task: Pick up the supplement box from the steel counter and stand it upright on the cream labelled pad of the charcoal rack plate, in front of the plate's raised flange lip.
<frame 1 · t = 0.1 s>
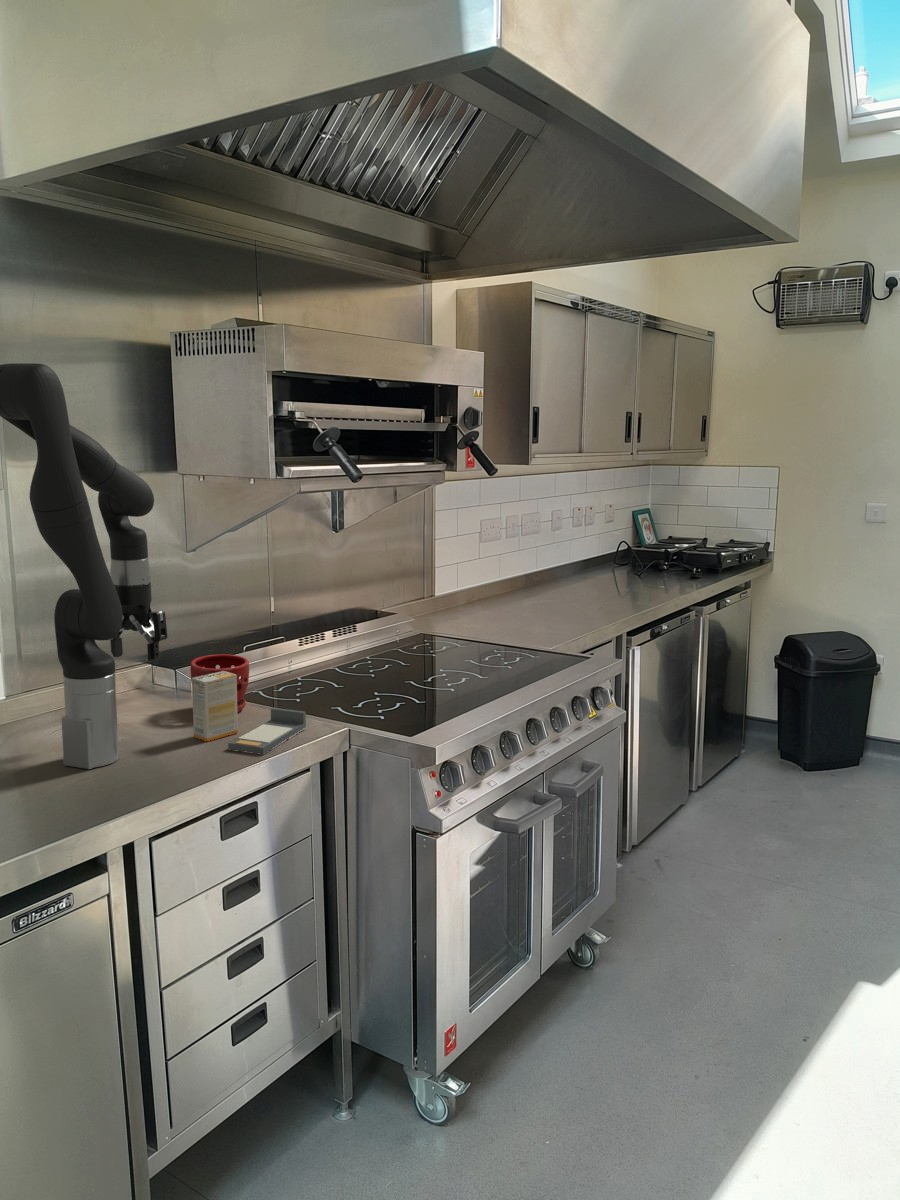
hand: (135, 658, 183), 17 cm above the worktop, tool pointing down, fingers open, 8 cm apart
supplement box: (215, 736, 190), on the worktop
plant pot: (220, 711, 208), on the worktop
rack plate: (268, 739, 188), on the worktop
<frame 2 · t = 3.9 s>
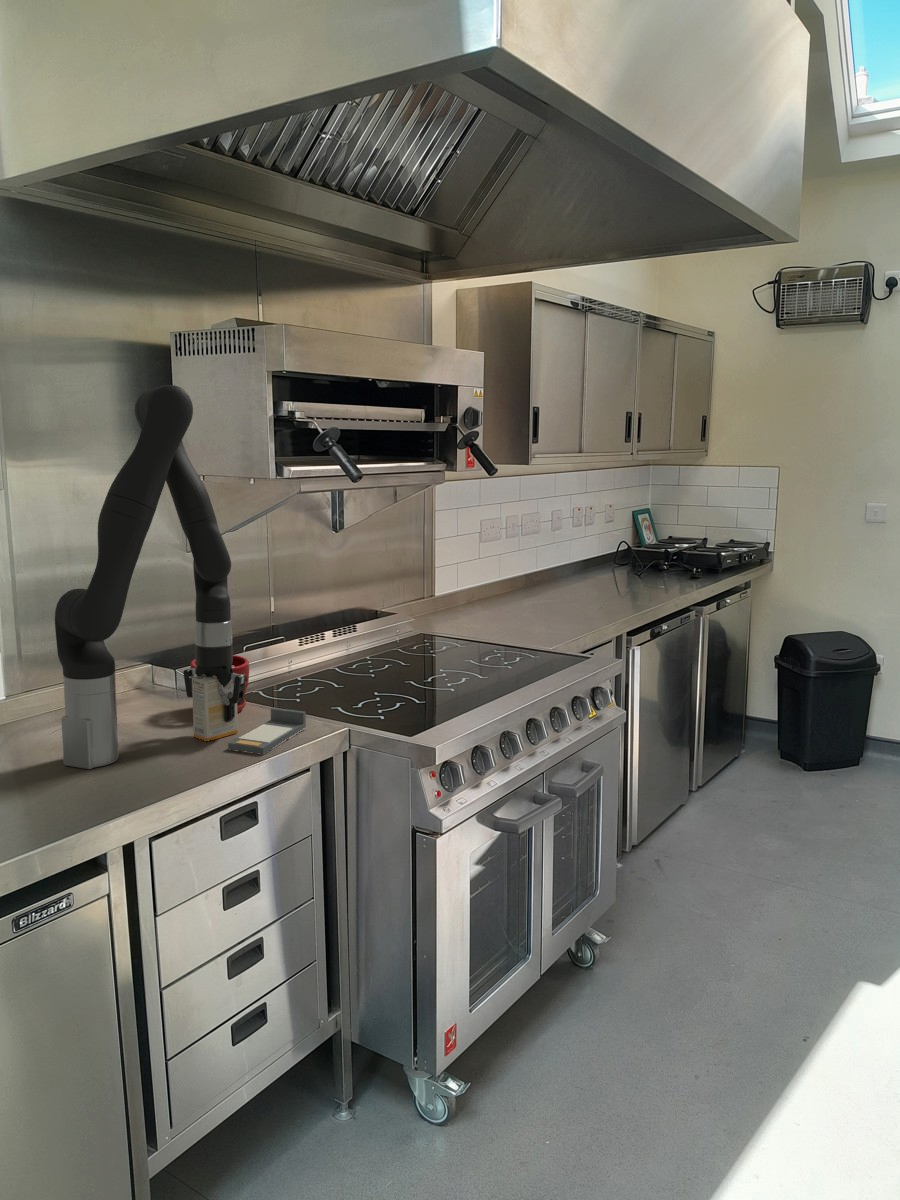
hand: (215, 719, 189), 4 cm above the worktop, tool pointing down, fingers closed on supplement box, 6 cm apart
supplement box: (215, 736, 190), on the worktop, touching gripper
everything else where it was.
when the fingers open (6 cm above the worktop, at t = 9.3 s): supplement box drops 1 cm, resting on rack plate.
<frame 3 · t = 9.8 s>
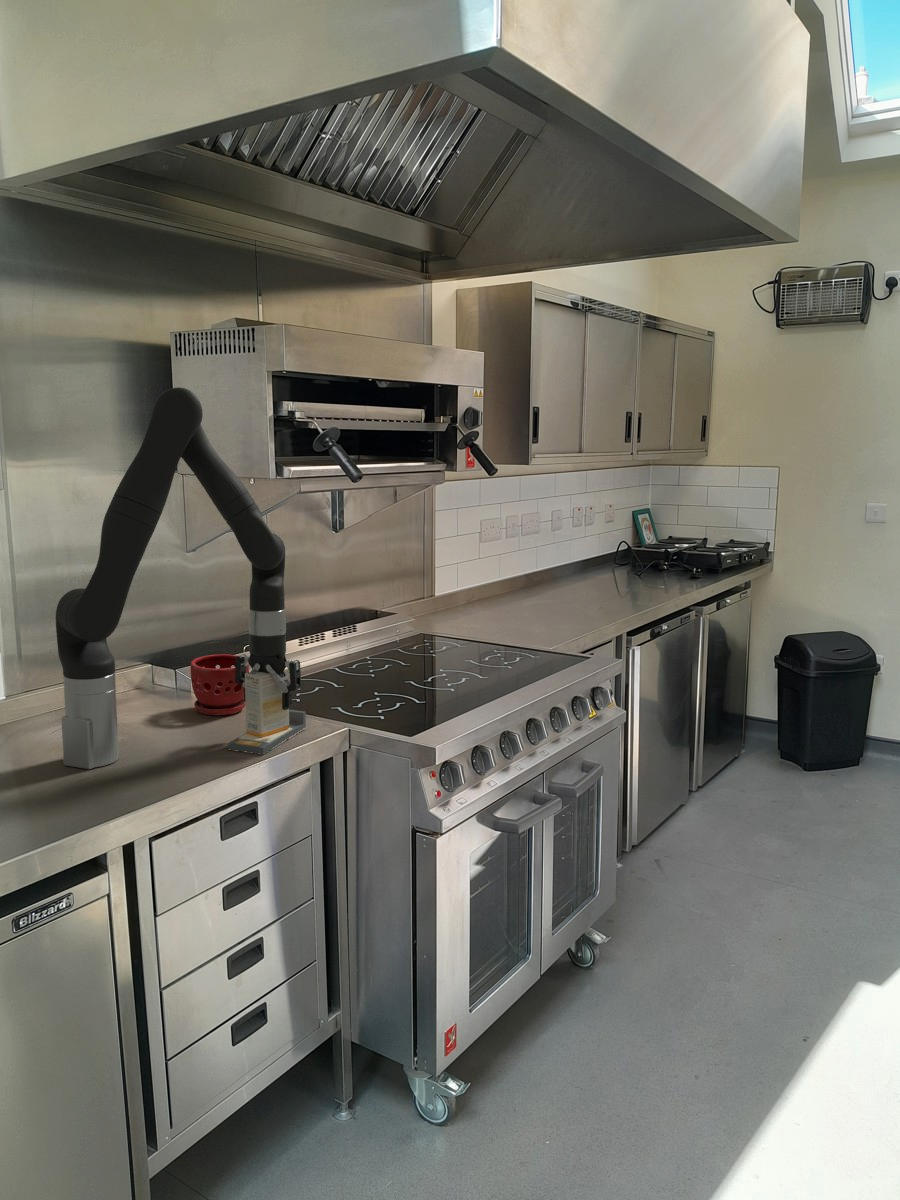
hand: (268, 706, 187), 7 cm above the worktop, tool pointing down, fingers open, 8 cm apart
supplement box: (267, 732, 188), point 1 cm above the worktop, touching rack plate
everything else where it was.
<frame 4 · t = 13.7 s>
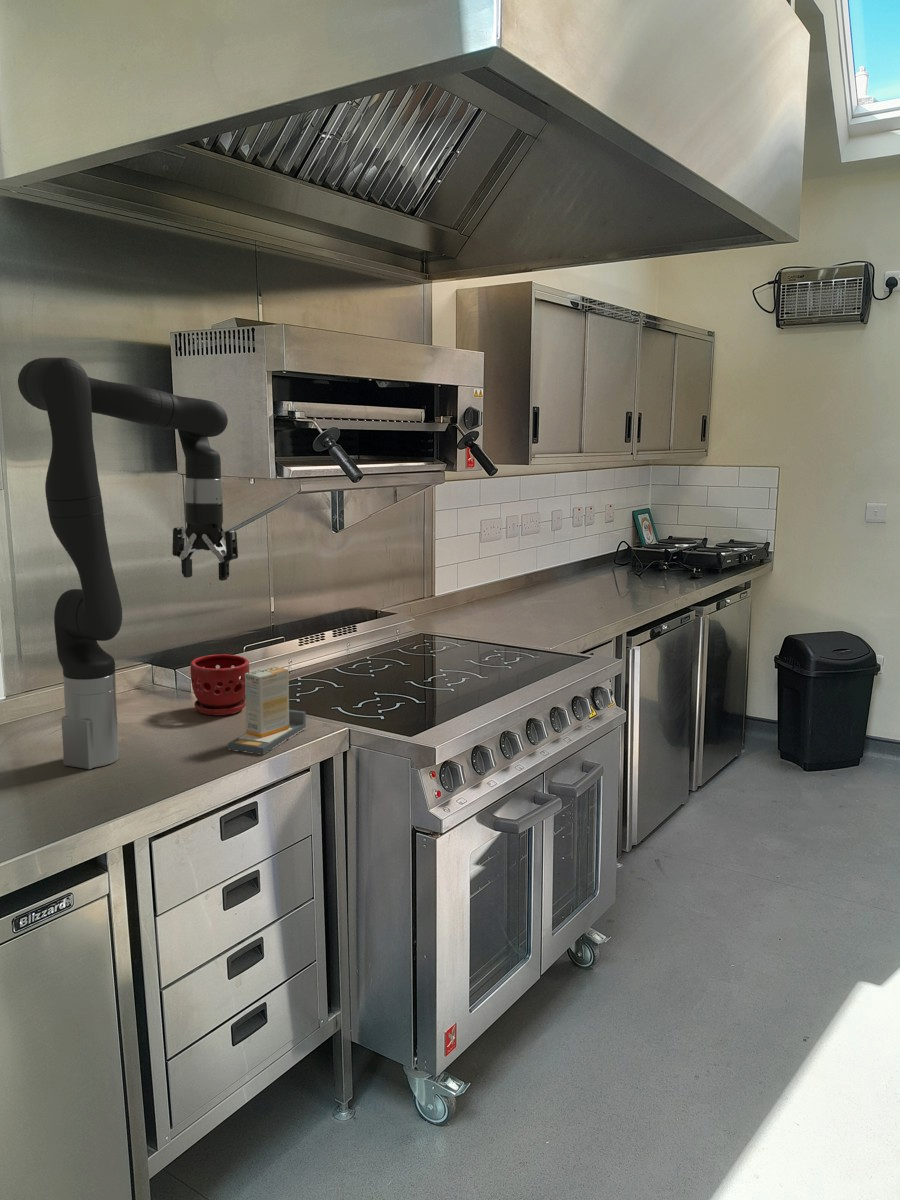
hand: (205, 578, 187), 33 cm above the worktop, tool pointing down, fingers open, 8 cm apart
nothing on the worktop moved.
at the end: supplement box inside the target area on the rack plate (0.2 cm from its centre), point 1.5 cm above the rack plate's base; supplement box tilted 0°; the gripper is holding nothing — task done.
